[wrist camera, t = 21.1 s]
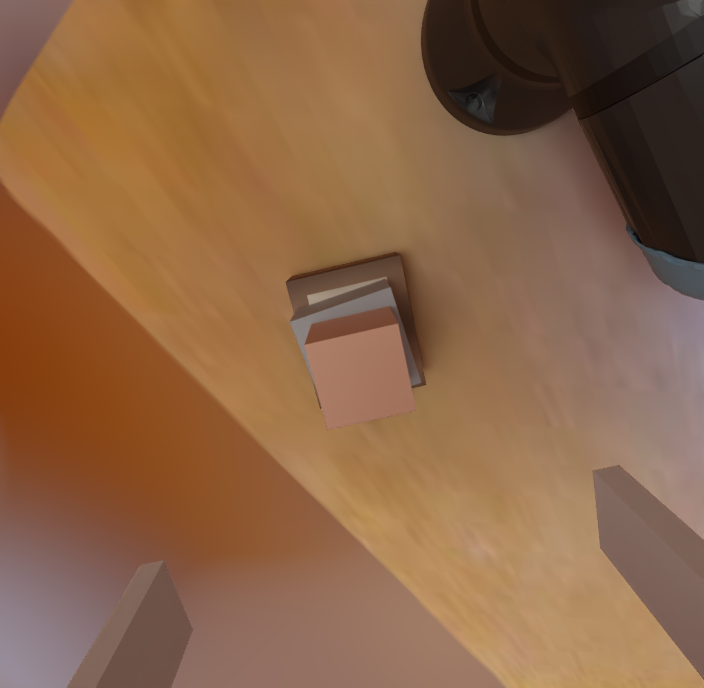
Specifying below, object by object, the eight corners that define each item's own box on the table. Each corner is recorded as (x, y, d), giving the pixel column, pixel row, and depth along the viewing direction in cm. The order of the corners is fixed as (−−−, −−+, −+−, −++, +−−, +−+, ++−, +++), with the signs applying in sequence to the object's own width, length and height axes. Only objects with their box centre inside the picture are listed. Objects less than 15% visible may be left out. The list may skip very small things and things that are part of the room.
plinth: (291, 276, 42) (285, 282, 38) (395, 252, 41) (400, 255, 37) (322, 392, 45) (320, 409, 41) (419, 370, 44) (426, 385, 40)
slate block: (296, 309, 38) (289, 322, 33) (384, 278, 38) (390, 287, 33) (328, 391, 40) (326, 413, 35) (412, 363, 40) (421, 382, 35)
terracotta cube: (311, 323, 33) (304, 344, 28) (388, 305, 33) (398, 323, 27) (330, 395, 35) (327, 430, 29) (404, 379, 35) (416, 410, 29)
